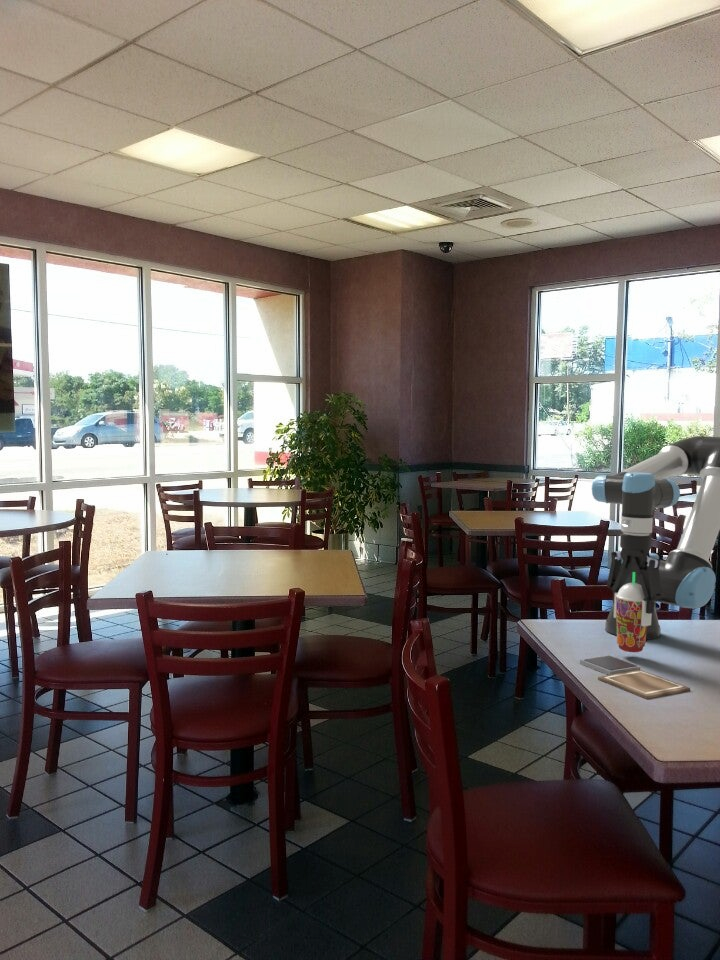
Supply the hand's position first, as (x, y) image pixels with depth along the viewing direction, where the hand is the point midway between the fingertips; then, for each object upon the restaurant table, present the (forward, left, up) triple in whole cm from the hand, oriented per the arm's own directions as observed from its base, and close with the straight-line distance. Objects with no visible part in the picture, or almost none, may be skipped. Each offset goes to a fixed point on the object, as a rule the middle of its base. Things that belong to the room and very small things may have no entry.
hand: (631, 621), depth 197 cm
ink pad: (+11, +4, -9) cm, 15 cm away
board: (+14, +17, -9) cm, 24 cm away
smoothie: (0, 0, -8) cm, 8 cm away
